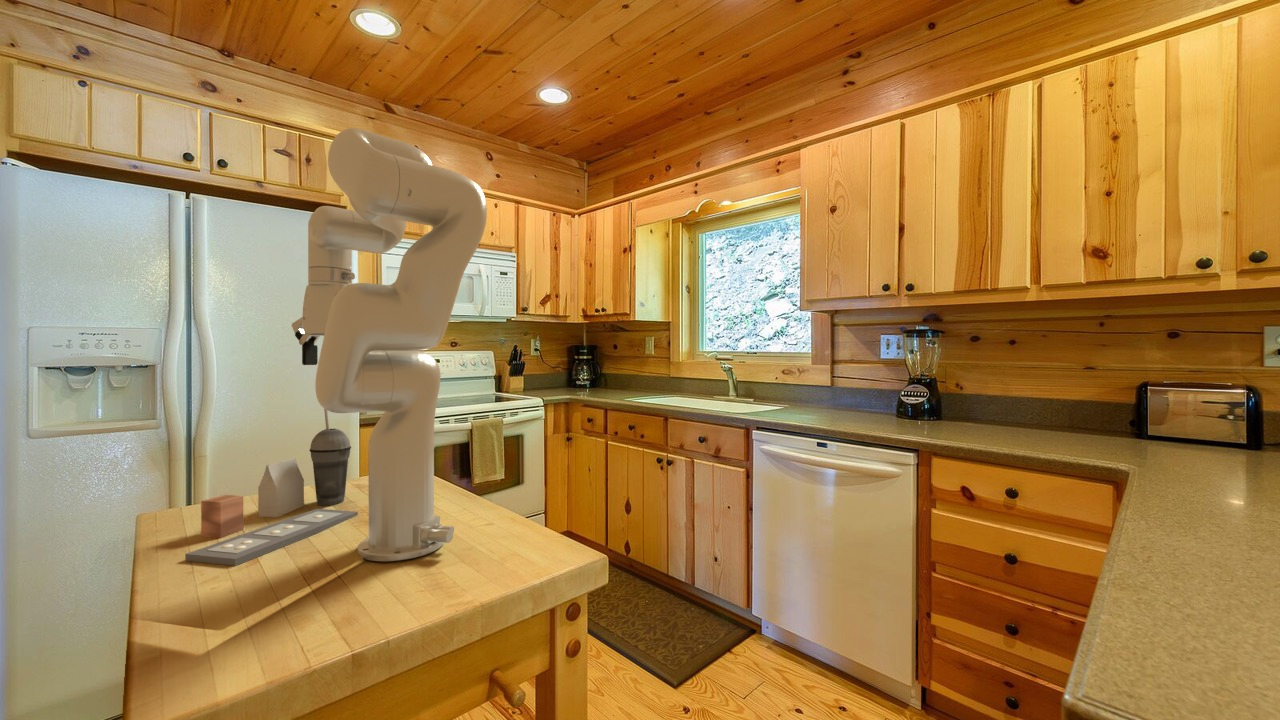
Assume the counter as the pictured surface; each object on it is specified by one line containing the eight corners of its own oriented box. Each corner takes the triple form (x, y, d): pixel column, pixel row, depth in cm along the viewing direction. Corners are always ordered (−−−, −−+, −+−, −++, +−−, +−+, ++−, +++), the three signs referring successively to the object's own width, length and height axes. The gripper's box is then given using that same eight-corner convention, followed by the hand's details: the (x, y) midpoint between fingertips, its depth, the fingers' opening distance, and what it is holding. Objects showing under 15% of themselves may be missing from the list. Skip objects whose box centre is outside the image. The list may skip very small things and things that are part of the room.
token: (243, 530, 92) (243, 496, 92) (220, 538, 88) (220, 502, 88) (224, 529, 93) (224, 494, 93) (201, 536, 89) (201, 500, 89)
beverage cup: (332, 512, 103) (332, 408, 103) (300, 510, 104) (300, 407, 104) (359, 502, 110) (359, 405, 110) (329, 500, 112) (328, 404, 111)
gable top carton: (303, 509, 105) (303, 458, 105) (276, 520, 98) (276, 465, 98) (286, 509, 105) (286, 458, 105) (258, 519, 99) (258, 465, 99)
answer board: (357, 517, 100) (357, 510, 100) (235, 565, 77) (235, 557, 77) (316, 513, 102) (316, 507, 102) (185, 560, 79) (185, 552, 79)
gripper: (381, 280, 109) (381, 365, 109) (309, 283, 112) (309, 364, 113) (353, 275, 101) (353, 365, 102) (277, 277, 105) (278, 365, 105)
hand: (330, 364), depth 107 cm, fingers open, 9 cm apart
